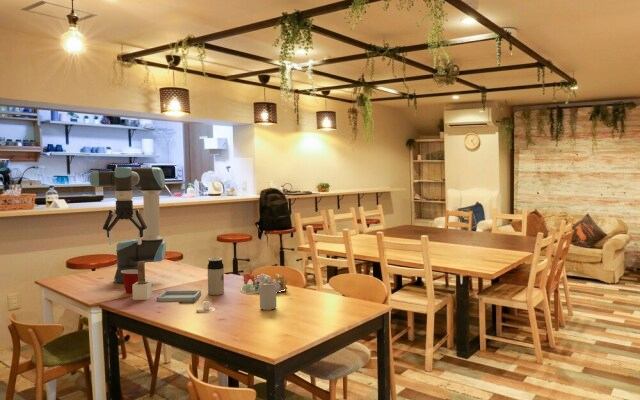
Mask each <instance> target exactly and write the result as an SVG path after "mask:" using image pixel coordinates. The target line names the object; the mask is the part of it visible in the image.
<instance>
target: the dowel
mask: <svg viewBox="0 0 640 400" xmlns="http://www.w3.org/2000/svg"><path fill="white" fill-rule="evenodd" d="M145 263H146V262H145V261H138V285H143V284H145V282H146V269H145V268H146V267H145V266H146V264H145Z"/></svg>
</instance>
